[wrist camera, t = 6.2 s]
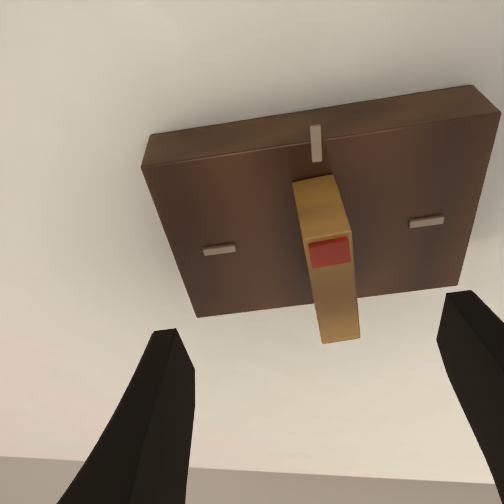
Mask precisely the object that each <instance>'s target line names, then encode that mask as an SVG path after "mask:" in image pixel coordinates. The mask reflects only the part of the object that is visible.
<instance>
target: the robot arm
mask: <svg viewBox="0 0 504 504" xmlns="http://www.w3.org/2000/svg"><path fill="white" fill-rule="evenodd" d="M436 340H437V343H438V347H439V350H440V353H441V356H442V360H443V363H444V366H445V369H446V372H447V375H448V377H449V380H450V382H451V384H452V386H453V389H454V391H455V393H456V395H457V398H458V400H459V402H460V404H461V406H462V409H463V411H464V413H465V415H466V417H467V419H468V422H469V424H470V426H471V428H472V430H473V432H474V435H475V437H476V439H477V441H478V443H479V446H480V448H481V450H482V452H483V454H484V456H485V459H486V461H487V464H488V466H489V468H490V471H491V473H492V476H493V478H494V481H495V484H496V487H497V489H498V493H499V496H500V498H501V501H502V504H504V322H503V321H502V320H501V319H500V318H499V317H498V316H497V315H496V314H495V313H494V312H493V311H492V310H491V309H490V308H489V307H488V306H487V305H486V304H485V303H484V302H483V301H482V300H481V299H480V298H479V297H478V296H477V295H476V294H475V293H474V292H473V291H471V290H467V291H460V292H452V293H446V298H445V302H444V307H443V312H442V316H441V321H440V326H439V330H438V335H437V339H436ZM194 410H195V369H194V367H193V364H192V362H191V360H190V358H189V356H188V353H187V351H186V349H185V347H184V345H183V342H182V340H181V338H180V336H179V334H178V331H177V329H176V328H175V329H167V330H159V331H154V332H153V333H152V335H151V337H150V340H149V342H148V344H147V347H146V349H145V351H144V353H143V356H142V358H141V360H140V362H139V364H138V366H137V368H136V371H135V373H134V375H133V377H132V379H131V381H130V383H129V385H128V387H127V389H126V391H125V393H124V395H123V397H122V399H121V401H120V402H119V404H118V406H117V408H116V410H115V412H114V414H113V416H112V417H111V419H110V421H109V423H108V424H107V426H106V428H105V430H104V431H103V433H102V435H101V437H100V438H99V440H98V442H97V444H96V445H95V447H94V449H93V450H92V452H91V453H90V455H89V457H88V458H87V460H86V461H85V463H84V465H83V466H82V468H81V469H80V471H79V472H78V474H77V475H76V477H75V478H74V480H73V481H72V483H71V484H70V486H69V487H68V489H67V490H66V492H65V493H64V494H63V496H62V497H61V498H60V500H59V501H58V503H57V504H185V496H186V484H187V475H188V466H189V457H190V448H191V439H192V430H193V420H194Z"/></svg>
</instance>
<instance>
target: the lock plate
mask: <svg viewBox="0 0 504 504" xmlns="http://www.w3.org/2000/svg"><path fill="white" fill-rule="evenodd" d="M500 116H501V112H500V111H499V110H498V109H497V108H496V107H495V106H494V105H493V104H492V103H491V102H490V101H489V100H488V99H487V98H486V97H485V96H484V95H483V94H482V93H481V92H480V91H479V90H478V89H476V88H475V87H474V86H473V85H468V86H462V87H455V88H449V89H442V90H436V91H430V92H423V93H417V94H411V95H404V96H398V97H391V98H385V99H379V100H372V101H366V102H360V103H353V104H347V105H340V106H334V107H328V108H321V109H315V110H309V111H302V112H296V113H290V114H283V115H277V116H270V117H264V118H258V119H251V120H245V121H239V122H232V123H226V124H219V125H213V126H207V127H200V128H194V129H188V130H181V131H175V132H168V133H162V134H156V135H151V136H149V140H148V144H147V147H146V151H145V154H144V158H143V161H142V165H141V169H142V172H143V175H144V177H145V180H146V183H147V186H148V188H149V191H150V194H151V196H152V199H153V202H154V204H155V207H156V210H157V212H158V215H159V218H160V220H161V223H162V226H163V228H164V231H165V234H166V236H167V239H168V242H169V244H170V247H171V250H172V253H173V255H174V258H175V261H176V263H177V266H178V269H179V271H180V274H181V277H182V279H183V282H184V285H185V287H186V290H187V293H188V295H189V298H190V301H191V303H192V306H193V309H194V311H195V314H196V317H197V318H200V317H208V316H216V315H224V314H232V313H240V312H248V311H256V310H264V309H272V308H280V307H288V306H296V305H304V304H312V303H314V298H313V293H312V287H311V282H310V277H309V271H308V266H307V261H306V255H305V250H304V245H303V239H302V234H301V229H300V223H299V218H298V212H297V207H296V202H295V196H294V191H293V186H292V183H293V182H296V181H301V180H305V179H310V178H315V177H320V176H325V175H330V174H333V175H334V178H335V181H336V184H337V187H338V190H339V193H340V196H341V199H342V202H343V206H344V209H345V212H346V215H347V218H348V221H349V224H350V227H351V231H352V242H353V254H354V266H355V278H356V291H357V298H361V297H369V296H377V295H385V294H393V293H401V292H409V291H417V290H425V289H433V288H441V287H449V286H457V285H458V282H459V278H460V274H461V270H462V266H463V262H464V258H465V254H466V250H467V246H468V242H469V238H470V234H471V230H472V226H473V223H474V219H475V215H476V211H477V207H478V203H479V199H480V195H481V191H482V187H483V183H484V179H485V175H486V171H487V167H488V163H489V160H490V156H491V152H492V148H493V144H494V140H495V136H496V132H497V128H498V124H499V120H500Z"/></svg>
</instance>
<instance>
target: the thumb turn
mask: <svg viewBox="0 0 504 504" xmlns="http://www.w3.org/2000/svg"><path fill="white" fill-rule="evenodd" d="M292 186H293V191H294V196H295V202H296V207H297V212H298V218H299V223H300V229H301V234H302V239H303V245H304V250H305V255H306V261H307V266H308V271H309V277H310V282H311V287H312V293H313V298H314V303H315V309H316V314H317V319H318V325H319V330H320V336H321V341H322V343H323V344H327V343H333V342H339V341H346V340H352V339H358V338H360V327H359V315H358V303H357V291H356V278H355V266H354V254H353V242H352V231H351V227H350V224H349V221H348V218H347V215H346V212H345V209H344V206H343V202H342V199H341V196H340V193H339V190H338V187H337V184H336V181H335V178H334V175H333V174H330V175H325V176H320V177H315V178H310V179H305V180H301V181H296V182H293V183H292Z"/></svg>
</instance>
